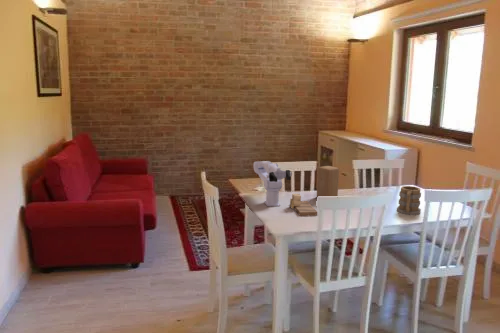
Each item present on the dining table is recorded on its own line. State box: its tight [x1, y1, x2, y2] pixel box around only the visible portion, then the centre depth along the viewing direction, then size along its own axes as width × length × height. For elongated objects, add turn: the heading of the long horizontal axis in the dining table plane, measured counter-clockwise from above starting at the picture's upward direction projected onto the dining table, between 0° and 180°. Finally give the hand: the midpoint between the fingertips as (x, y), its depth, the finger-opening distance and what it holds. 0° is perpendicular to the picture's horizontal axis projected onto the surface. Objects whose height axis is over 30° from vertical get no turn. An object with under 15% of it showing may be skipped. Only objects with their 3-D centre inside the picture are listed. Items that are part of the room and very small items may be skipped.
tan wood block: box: [289, 193, 302, 210], centre depth 262 cm, size 5×5×8 cm
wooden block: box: [316, 165, 340, 198], centre depth 284 cm, size 10×10×20 cm
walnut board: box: [294, 200, 318, 217], centre depth 260 cm, size 22×10×2 cm, turn 8°
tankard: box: [396, 185, 422, 216], centre depth 256 cm, size 20×13×15 cm, turn 152°
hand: (283, 179), depth 246 cm, fingers open, 7 cm apart
